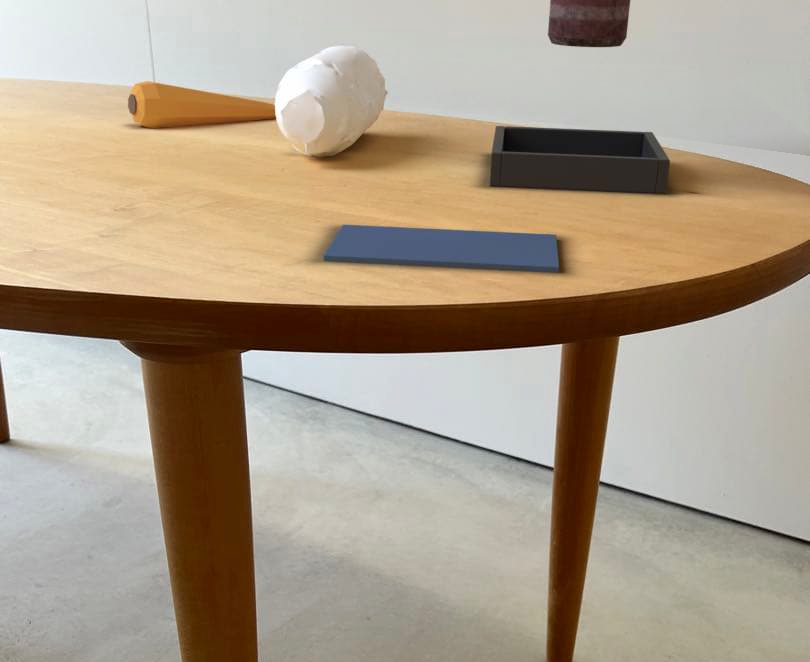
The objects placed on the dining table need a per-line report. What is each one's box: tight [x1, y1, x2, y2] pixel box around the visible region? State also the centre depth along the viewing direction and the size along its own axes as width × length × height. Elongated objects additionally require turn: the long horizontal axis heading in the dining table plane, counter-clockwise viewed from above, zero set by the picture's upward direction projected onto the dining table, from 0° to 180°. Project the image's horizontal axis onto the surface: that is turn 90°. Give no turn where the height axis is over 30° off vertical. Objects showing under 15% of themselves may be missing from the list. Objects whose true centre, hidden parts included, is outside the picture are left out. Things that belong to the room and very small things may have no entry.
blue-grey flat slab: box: [322, 224, 560, 274], centre depth 69 cm, size 14×8×1 cm, turn 84°
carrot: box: [127, 80, 276, 129], centre depth 112 cm, size 20×4×4 cm, turn 124°
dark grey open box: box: [489, 125, 671, 196], centre depth 91 cm, size 14×14×3 cm
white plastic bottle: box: [274, 44, 389, 158], centre depth 97 cm, size 8×19×8 cm, turn 172°
